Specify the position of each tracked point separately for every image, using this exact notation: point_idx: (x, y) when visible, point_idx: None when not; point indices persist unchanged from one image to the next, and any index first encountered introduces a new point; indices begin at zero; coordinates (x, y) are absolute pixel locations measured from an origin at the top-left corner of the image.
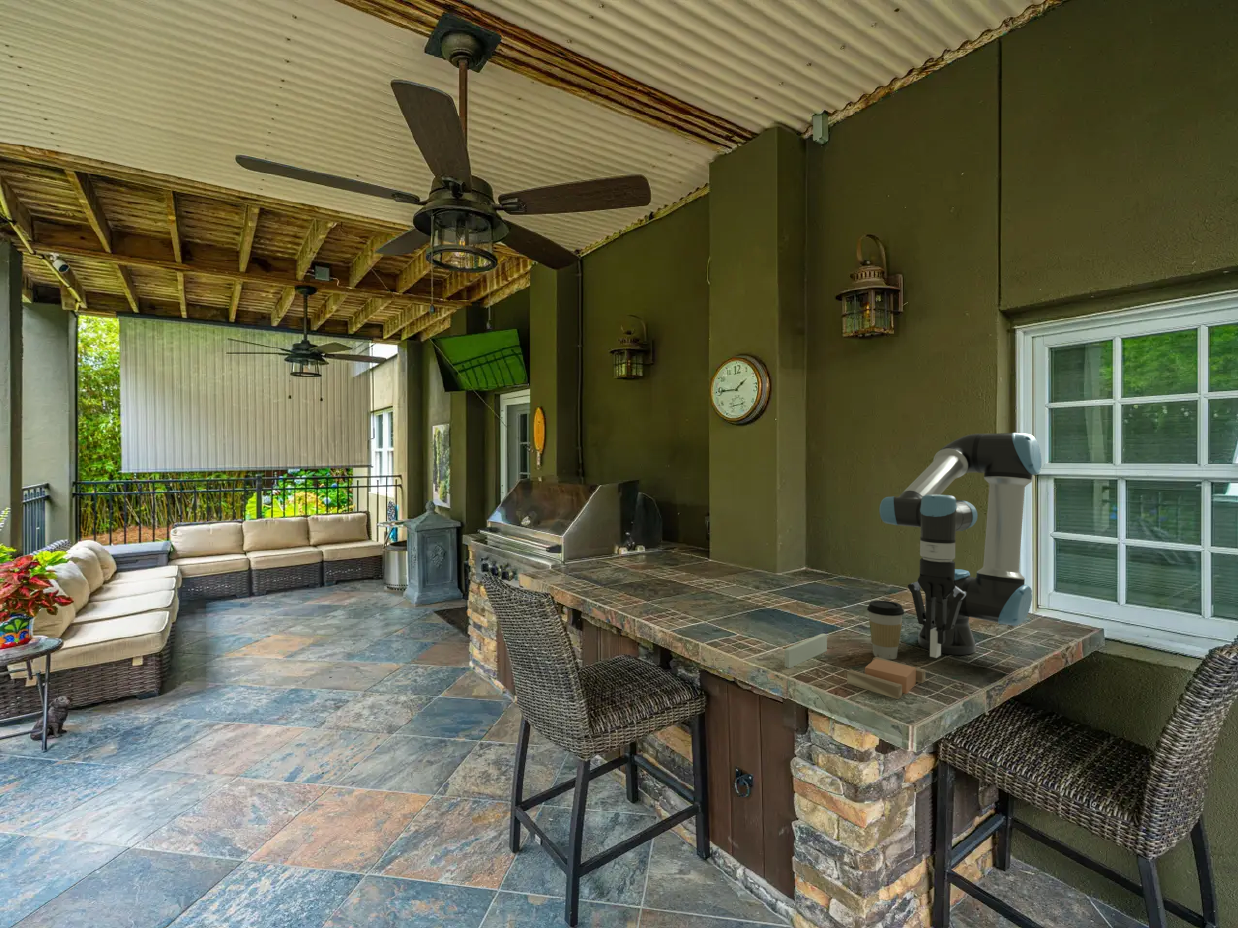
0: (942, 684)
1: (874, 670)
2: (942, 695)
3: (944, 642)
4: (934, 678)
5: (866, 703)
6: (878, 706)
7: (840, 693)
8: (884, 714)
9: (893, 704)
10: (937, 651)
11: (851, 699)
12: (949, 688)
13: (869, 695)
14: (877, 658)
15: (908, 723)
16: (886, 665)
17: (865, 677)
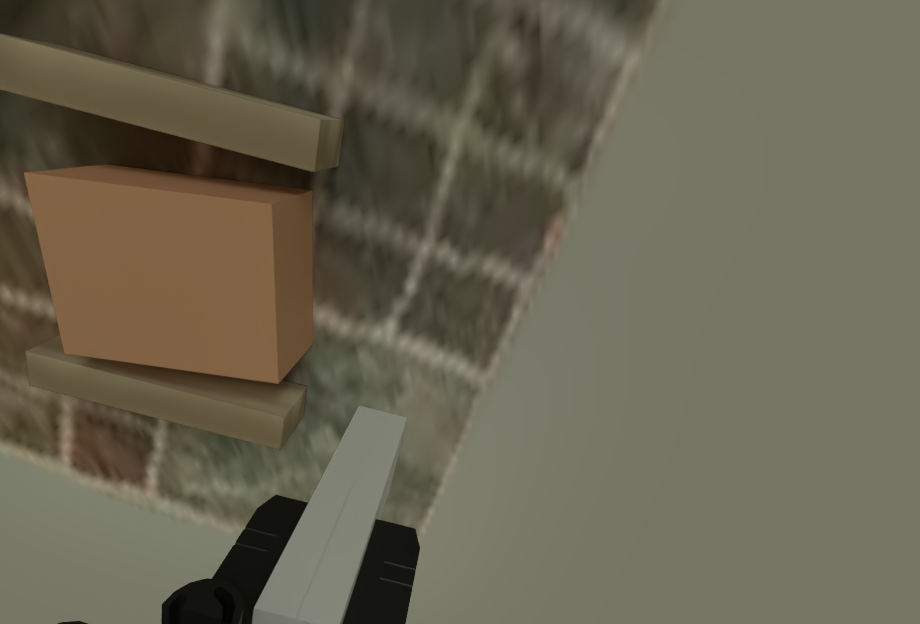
0: (432, 112)
1: (118, 359)
2: (452, 277)
3: (416, 538)
4: (377, 28)
5: (225, 500)
6: None
7: (116, 463)
8: None
9: (303, 466)
10: (383, 506)
11: (171, 492)
12: (472, 156)
13: (203, 431)
14: (13, 65)
15: None
16: (128, 260)
17: (123, 407)
